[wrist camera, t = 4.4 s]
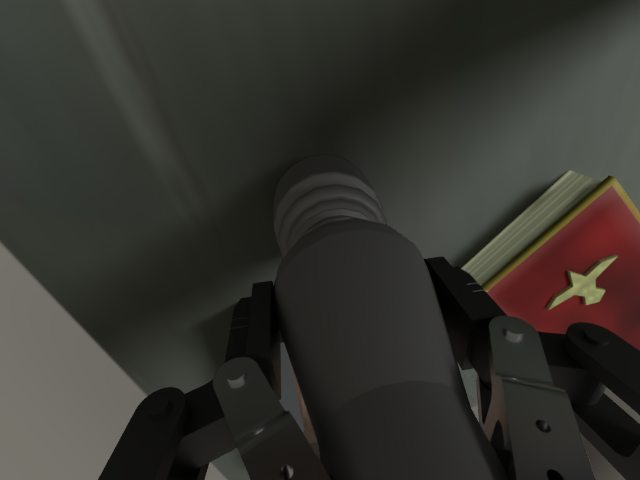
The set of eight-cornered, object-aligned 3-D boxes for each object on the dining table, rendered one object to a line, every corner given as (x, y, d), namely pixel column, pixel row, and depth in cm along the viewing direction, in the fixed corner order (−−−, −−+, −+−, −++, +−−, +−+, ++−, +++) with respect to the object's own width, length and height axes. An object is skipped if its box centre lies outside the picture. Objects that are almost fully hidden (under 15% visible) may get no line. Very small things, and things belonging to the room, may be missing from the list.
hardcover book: (562, 360, 36) (595, 394, 32) (446, 271, 28) (472, 303, 24) (665, 288, 32) (715, 317, 28) (566, 161, 24) (619, 178, 20)
